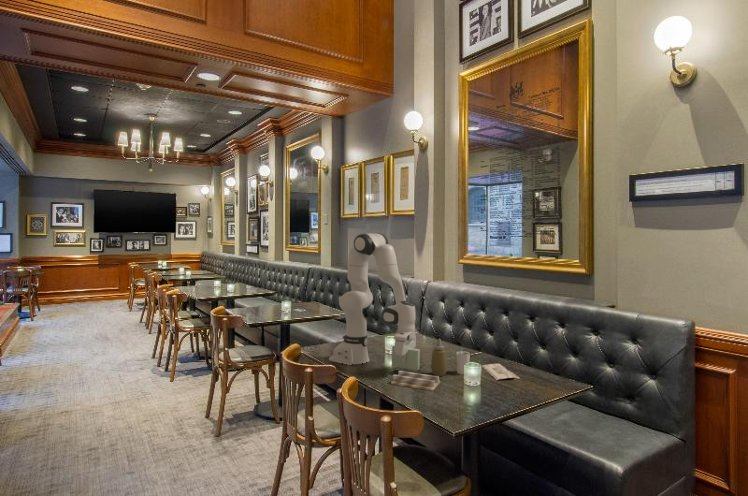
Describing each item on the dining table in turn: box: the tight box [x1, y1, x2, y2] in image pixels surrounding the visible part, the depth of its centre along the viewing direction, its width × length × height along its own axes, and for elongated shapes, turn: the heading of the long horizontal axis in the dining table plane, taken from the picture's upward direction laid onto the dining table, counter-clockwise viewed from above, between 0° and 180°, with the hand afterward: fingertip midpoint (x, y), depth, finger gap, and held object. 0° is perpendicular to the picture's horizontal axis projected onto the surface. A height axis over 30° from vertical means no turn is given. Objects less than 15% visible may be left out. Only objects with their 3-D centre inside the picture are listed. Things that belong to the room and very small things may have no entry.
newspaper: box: [481, 363, 520, 381], centre depth 223 cm, size 23×12×2 cm, turn 5°
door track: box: [390, 370, 441, 392], centre depth 207 cm, size 20×12×4 cm, turn 65°
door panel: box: [391, 345, 421, 372], centre depth 224 cm, size 14×3×10 cm, turn 64°
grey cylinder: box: [455, 351, 471, 376], centre depth 223 cm, size 7×7×10 cm
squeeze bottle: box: [430, 338, 448, 377], centre depth 220 cm, size 8×8×18 cm
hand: (405, 360), depth 224 cm, fingers closed on door panel, 3 cm apart
